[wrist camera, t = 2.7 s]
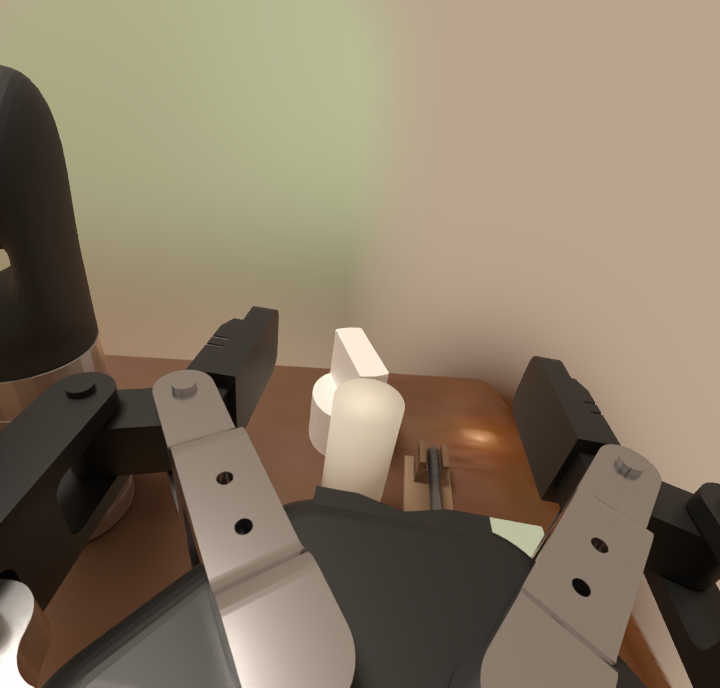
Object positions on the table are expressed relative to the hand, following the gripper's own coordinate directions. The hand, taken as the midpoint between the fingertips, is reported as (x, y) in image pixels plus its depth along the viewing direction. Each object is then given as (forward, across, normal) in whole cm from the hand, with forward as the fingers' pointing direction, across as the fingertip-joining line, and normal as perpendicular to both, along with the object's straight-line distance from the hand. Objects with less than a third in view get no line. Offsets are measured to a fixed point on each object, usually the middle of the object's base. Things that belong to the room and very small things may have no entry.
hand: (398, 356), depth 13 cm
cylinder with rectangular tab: (+24, +1, +28) cm, 37 cm away
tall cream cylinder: (+12, 0, +28) cm, 30 cm away
